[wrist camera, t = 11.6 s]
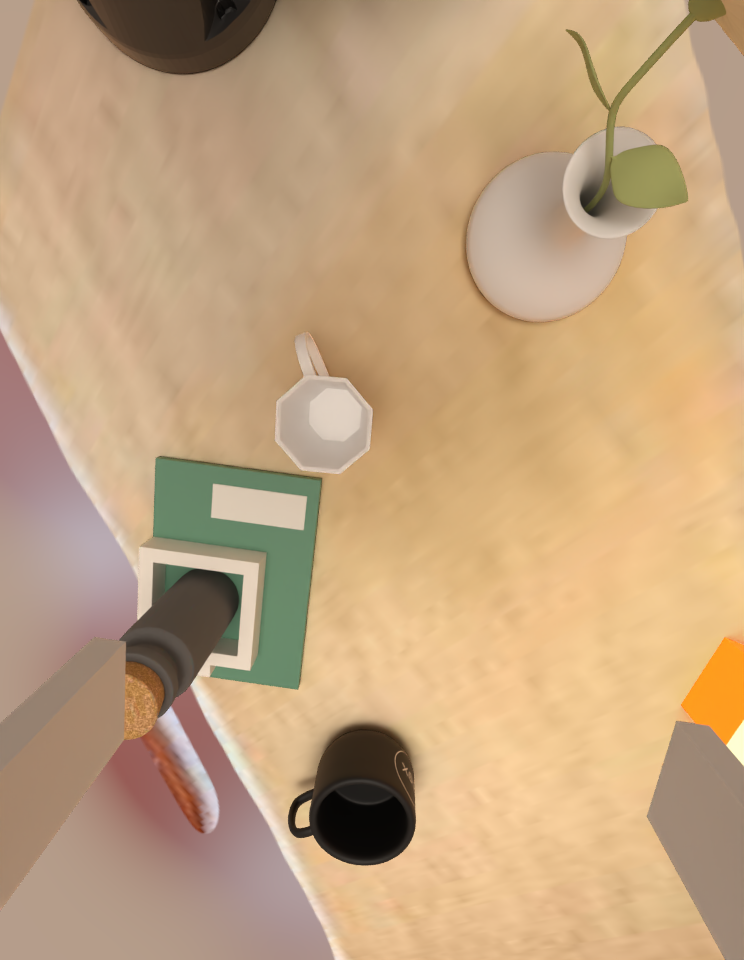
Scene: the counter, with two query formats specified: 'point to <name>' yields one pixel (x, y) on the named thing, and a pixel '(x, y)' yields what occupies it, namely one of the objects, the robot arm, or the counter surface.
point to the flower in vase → (578, 202)
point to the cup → (322, 416)
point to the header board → (238, 559)
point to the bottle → (174, 645)
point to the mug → (361, 800)
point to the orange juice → (721, 696)
